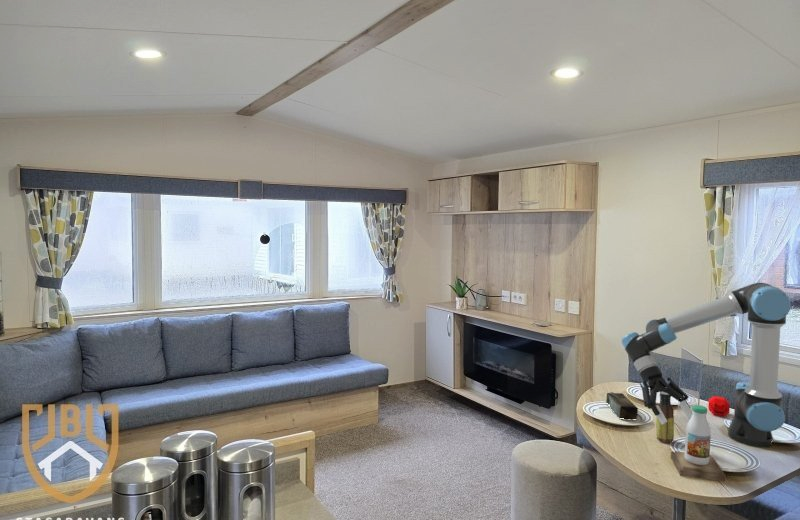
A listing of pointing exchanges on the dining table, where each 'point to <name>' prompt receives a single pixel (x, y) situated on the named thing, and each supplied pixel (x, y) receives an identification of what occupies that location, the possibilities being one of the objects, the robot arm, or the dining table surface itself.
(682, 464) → the podium
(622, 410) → the dark brown block
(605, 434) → the dining table surface
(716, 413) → the ball
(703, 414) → the milk bottle
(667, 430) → the sauce bottle
